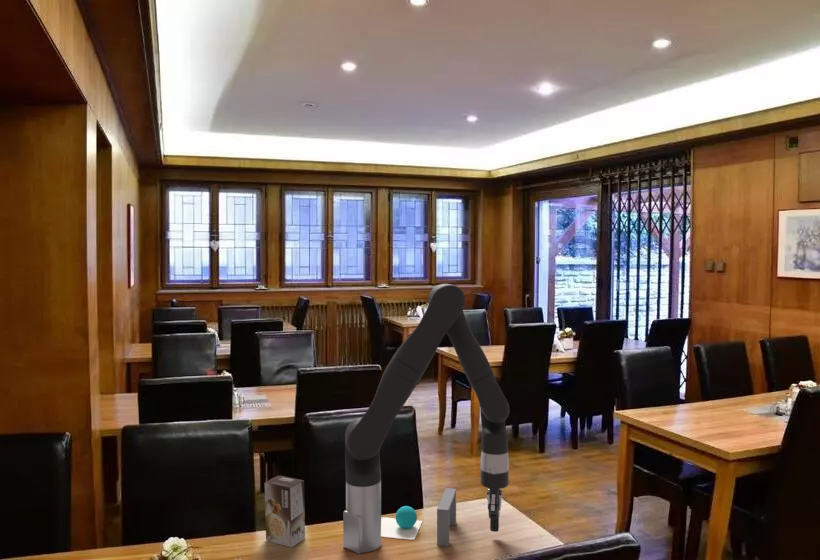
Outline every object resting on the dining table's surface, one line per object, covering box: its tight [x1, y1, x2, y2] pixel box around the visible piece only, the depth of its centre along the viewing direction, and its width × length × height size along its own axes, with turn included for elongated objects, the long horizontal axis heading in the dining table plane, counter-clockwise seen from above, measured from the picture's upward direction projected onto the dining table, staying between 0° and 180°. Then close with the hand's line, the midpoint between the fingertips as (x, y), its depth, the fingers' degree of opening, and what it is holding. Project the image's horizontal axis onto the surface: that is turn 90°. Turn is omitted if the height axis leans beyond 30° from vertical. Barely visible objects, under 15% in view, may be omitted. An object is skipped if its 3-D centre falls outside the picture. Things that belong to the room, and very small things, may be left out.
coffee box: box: [264, 475, 306, 548], centre depth 167 cm, size 9×6×16 cm
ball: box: [395, 505, 418, 529], centre depth 174 cm, size 6×6×6 cm
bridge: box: [436, 487, 457, 547], centre depth 171 cm, size 3×15×10 cm, turn 168°
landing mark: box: [381, 516, 423, 541], centre depth 174 cm, size 12×12×1 cm
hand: (494, 530), depth 168 cm, fingers closed
